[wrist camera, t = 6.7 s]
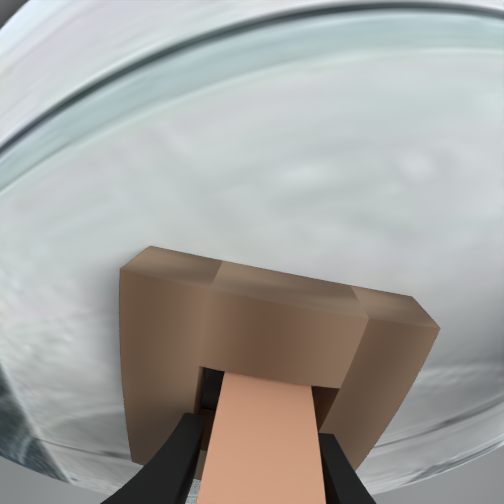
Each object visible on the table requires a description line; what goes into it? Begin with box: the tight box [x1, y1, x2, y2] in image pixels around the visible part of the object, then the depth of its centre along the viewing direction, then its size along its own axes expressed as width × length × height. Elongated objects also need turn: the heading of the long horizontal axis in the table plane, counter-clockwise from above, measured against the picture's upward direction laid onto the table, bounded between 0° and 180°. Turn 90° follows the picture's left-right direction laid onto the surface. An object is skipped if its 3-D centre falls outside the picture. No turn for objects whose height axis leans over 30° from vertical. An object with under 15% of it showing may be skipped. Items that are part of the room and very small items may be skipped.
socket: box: [119, 246, 440, 480], centre depth 11 cm, size 10×10×2 cm
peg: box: [196, 372, 326, 504], centre depth 8 cm, size 3×3×8 cm
